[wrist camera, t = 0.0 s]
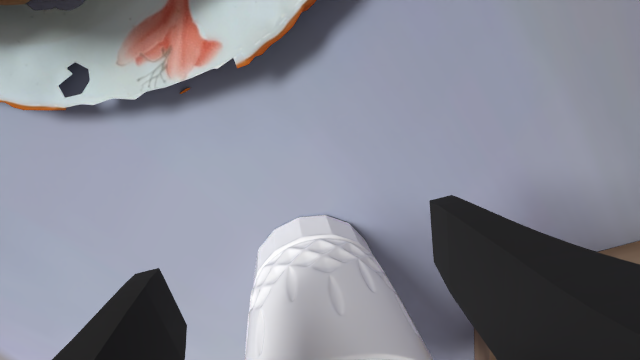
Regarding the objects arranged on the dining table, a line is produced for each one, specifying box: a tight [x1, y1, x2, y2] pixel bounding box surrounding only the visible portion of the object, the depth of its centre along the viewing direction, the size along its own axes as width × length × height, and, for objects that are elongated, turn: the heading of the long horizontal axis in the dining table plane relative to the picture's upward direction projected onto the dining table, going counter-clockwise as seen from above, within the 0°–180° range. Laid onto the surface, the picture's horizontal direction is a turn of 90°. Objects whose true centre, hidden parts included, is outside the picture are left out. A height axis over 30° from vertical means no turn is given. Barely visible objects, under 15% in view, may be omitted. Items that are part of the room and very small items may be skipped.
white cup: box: [245, 215, 434, 360], centre depth 18 cm, size 8×8×10 cm
